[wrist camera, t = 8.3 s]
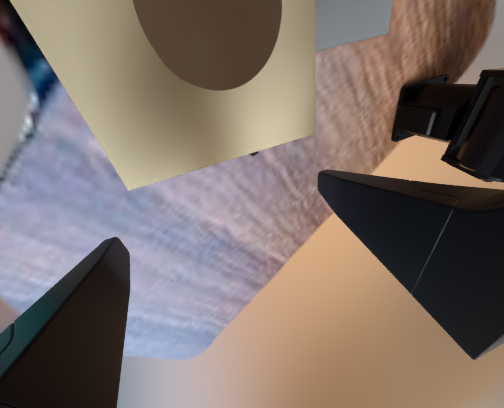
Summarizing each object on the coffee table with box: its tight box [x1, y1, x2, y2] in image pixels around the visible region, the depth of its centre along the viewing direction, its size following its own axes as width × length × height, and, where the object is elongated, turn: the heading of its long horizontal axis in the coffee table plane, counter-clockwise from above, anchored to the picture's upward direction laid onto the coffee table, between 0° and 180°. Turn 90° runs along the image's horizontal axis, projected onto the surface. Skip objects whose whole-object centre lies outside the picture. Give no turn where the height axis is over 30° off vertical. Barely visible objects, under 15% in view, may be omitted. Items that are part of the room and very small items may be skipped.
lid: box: [10, 0, 316, 191], centre depth 6 cm, size 10×10×4 cm
